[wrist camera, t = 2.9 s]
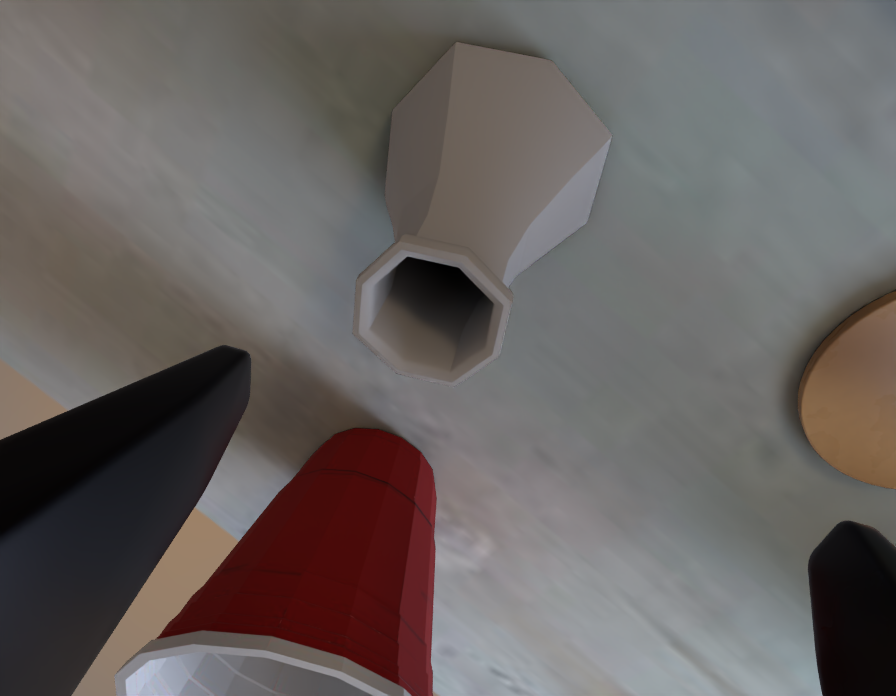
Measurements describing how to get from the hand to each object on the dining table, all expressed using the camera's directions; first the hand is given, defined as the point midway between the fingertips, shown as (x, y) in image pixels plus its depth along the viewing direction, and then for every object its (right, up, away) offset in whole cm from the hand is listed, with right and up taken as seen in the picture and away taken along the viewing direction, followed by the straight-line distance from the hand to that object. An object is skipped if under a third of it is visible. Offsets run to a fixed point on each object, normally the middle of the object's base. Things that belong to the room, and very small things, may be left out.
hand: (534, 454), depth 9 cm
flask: (0, +8, +11) cm, 14 cm away
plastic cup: (-4, -4, +20) cm, 21 cm away
